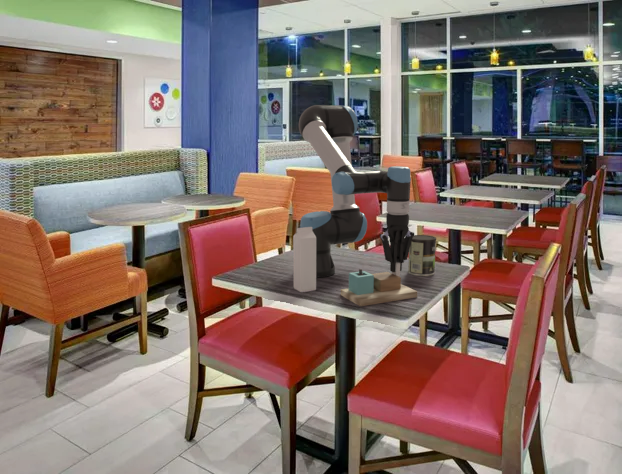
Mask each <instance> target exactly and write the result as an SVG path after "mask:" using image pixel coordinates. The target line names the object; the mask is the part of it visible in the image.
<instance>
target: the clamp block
mask: <svg viewBox="0 0 622 474" xmlns="http://www.w3.org/2000/svg"><path fill="white" fill-rule="evenodd" d="M371 274H372V275H374V289H376V290H378V291H380V292H384V291H390V290H397V289H401V284H402V276H400V277H399V276H396V275H394V274H392V272H389V271H384V272H376V273H371Z"/></svg>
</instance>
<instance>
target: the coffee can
mask: <svg viewBox="0 0 622 474" xmlns="http://www.w3.org/2000/svg"><path fill="white" fill-rule="evenodd" d="M436 245H437V237H435V236H433V235H429V234H427V235H426V234H414V236H413V238H412V241H411V245H410V249H409V253H408V270H407V273H408V274H409V275H412V276H415V277H416V276H419V277H430V276H434V275H435V274H436V272H435V271H436V270H435V269H436V266H435V265H436V248H437V247H436Z"/></svg>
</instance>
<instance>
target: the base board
mask: <svg viewBox="0 0 622 474" xmlns="http://www.w3.org/2000/svg"><path fill="white" fill-rule="evenodd" d="M362 271H363V269H362V268H359V269H358V272H359V273H358V275H359V276H362V275H363V273H362ZM340 296H341V297H343V298H345V299H347V300H348V301H350V302H352V303H354V304H355V305H356V306H359V307H364V306H365V307H367V306H371V305H372V306H373V305H377V304H383V303H389V302H390V303H391V302H395V301H401V300H408V299H413V298H418V290H415V289H412V288H410V287H409V286H406V285H404V284H402V283H401V289H397V290H390V291H384V292H380V291H378V290H376V289H374V288H373V293H368V294H362V295H357V294H355V293H353V292H351V291H349V287H348V288H343V289H340Z"/></svg>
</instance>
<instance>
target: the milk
mask: <svg viewBox="0 0 622 474" xmlns="http://www.w3.org/2000/svg"><path fill="white" fill-rule="evenodd" d="M292 245H293V247H292V248H293V253H292V254H293V258H292V259H293V261H292V262H293V268H292V269H293V289H294V290H296V291H297V292H300V293H306V292H312V291H317V277H316V236H315V234H314V233H313V231H312V227H304V228H300V227H297V228H296V233H294V235H293V239H292Z"/></svg>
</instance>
